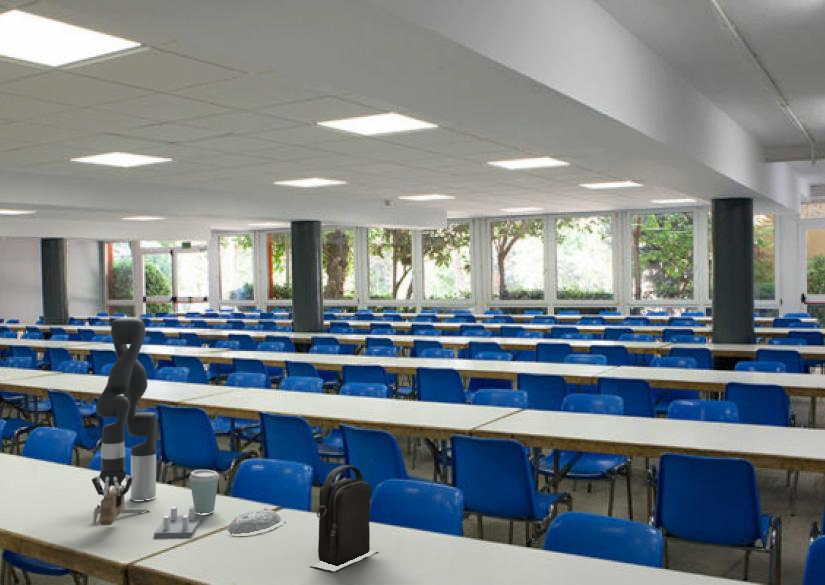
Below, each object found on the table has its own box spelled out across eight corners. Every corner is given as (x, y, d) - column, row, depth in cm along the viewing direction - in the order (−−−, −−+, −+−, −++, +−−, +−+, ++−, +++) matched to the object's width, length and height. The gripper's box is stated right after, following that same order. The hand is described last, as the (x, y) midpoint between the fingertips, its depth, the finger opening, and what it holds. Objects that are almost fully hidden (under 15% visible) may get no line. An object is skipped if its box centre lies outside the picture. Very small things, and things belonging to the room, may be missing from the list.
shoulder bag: (356, 546, 247) (357, 457, 247) (380, 552, 242) (380, 461, 242) (309, 567, 228) (309, 470, 228) (333, 573, 223) (334, 474, 223)
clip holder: (168, 520, 274) (168, 504, 274) (203, 519, 275) (203, 503, 275) (154, 537, 254) (154, 520, 254) (191, 536, 255) (191, 520, 255)
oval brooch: (211, 531, 260) (213, 511, 260) (263, 517, 282) (265, 499, 281) (245, 544, 252) (247, 524, 252) (296, 529, 273) (298, 510, 273)
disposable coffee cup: (223, 509, 288) (223, 468, 288) (213, 517, 277) (213, 475, 277) (195, 508, 289) (195, 468, 289) (184, 517, 278) (184, 474, 278)
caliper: (94, 524, 270) (94, 505, 270) (93, 523, 271) (93, 505, 271) (150, 512, 285) (150, 495, 285) (148, 511, 286) (148, 494, 286)
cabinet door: (115, 507, 271) (115, 485, 271) (128, 507, 272) (128, 485, 271) (101, 525, 255) (100, 501, 255) (115, 525, 256) (114, 501, 255)
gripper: (137, 452, 267) (137, 503, 268) (95, 453, 266) (95, 504, 266) (131, 457, 260) (131, 509, 260) (87, 458, 259) (87, 510, 259)
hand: (112, 506), depth 263 cm, fingers closed on cabinet door, 3 cm apart
